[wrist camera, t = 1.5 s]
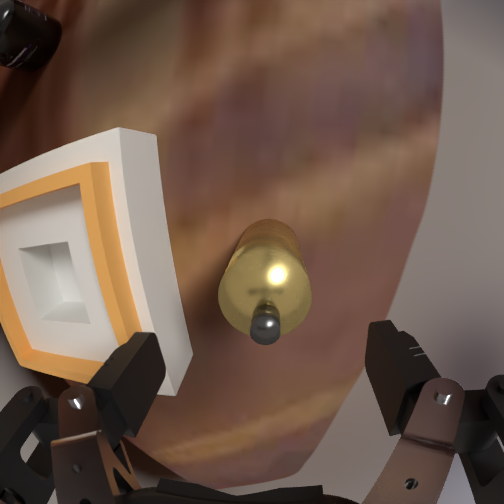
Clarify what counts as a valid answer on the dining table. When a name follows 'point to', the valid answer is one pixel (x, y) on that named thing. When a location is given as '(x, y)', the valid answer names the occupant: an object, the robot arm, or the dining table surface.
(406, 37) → the dining table surface
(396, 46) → the dining table surface
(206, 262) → the dining table surface
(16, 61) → the supplement bottle
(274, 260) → the oil can
